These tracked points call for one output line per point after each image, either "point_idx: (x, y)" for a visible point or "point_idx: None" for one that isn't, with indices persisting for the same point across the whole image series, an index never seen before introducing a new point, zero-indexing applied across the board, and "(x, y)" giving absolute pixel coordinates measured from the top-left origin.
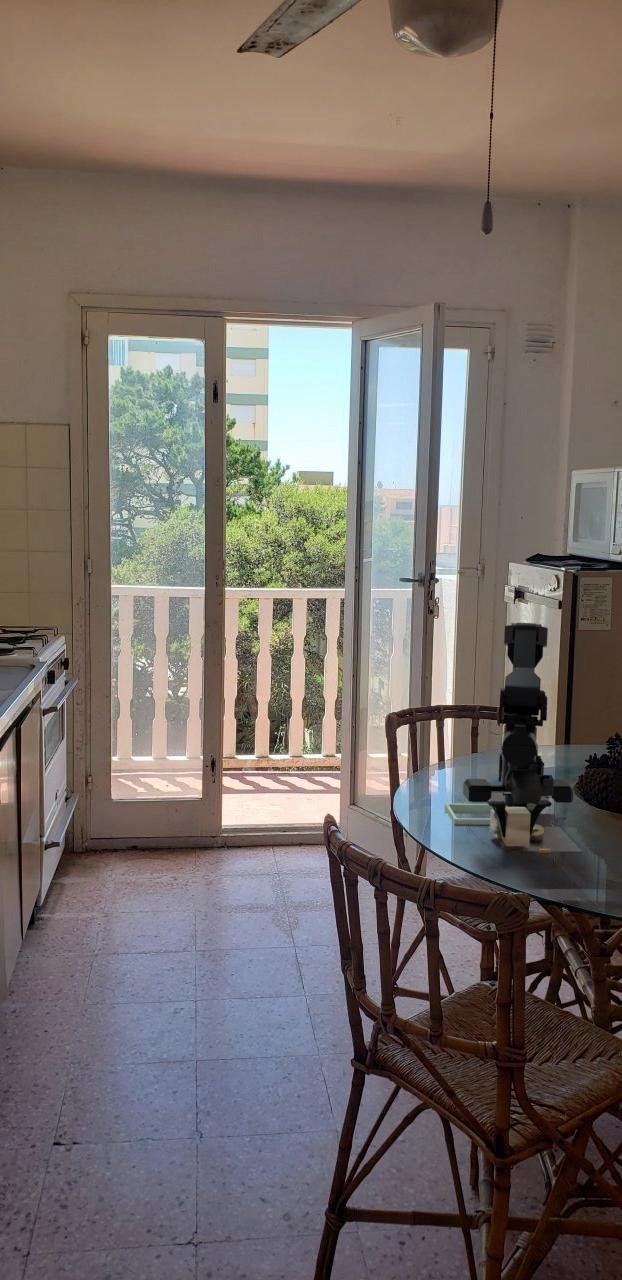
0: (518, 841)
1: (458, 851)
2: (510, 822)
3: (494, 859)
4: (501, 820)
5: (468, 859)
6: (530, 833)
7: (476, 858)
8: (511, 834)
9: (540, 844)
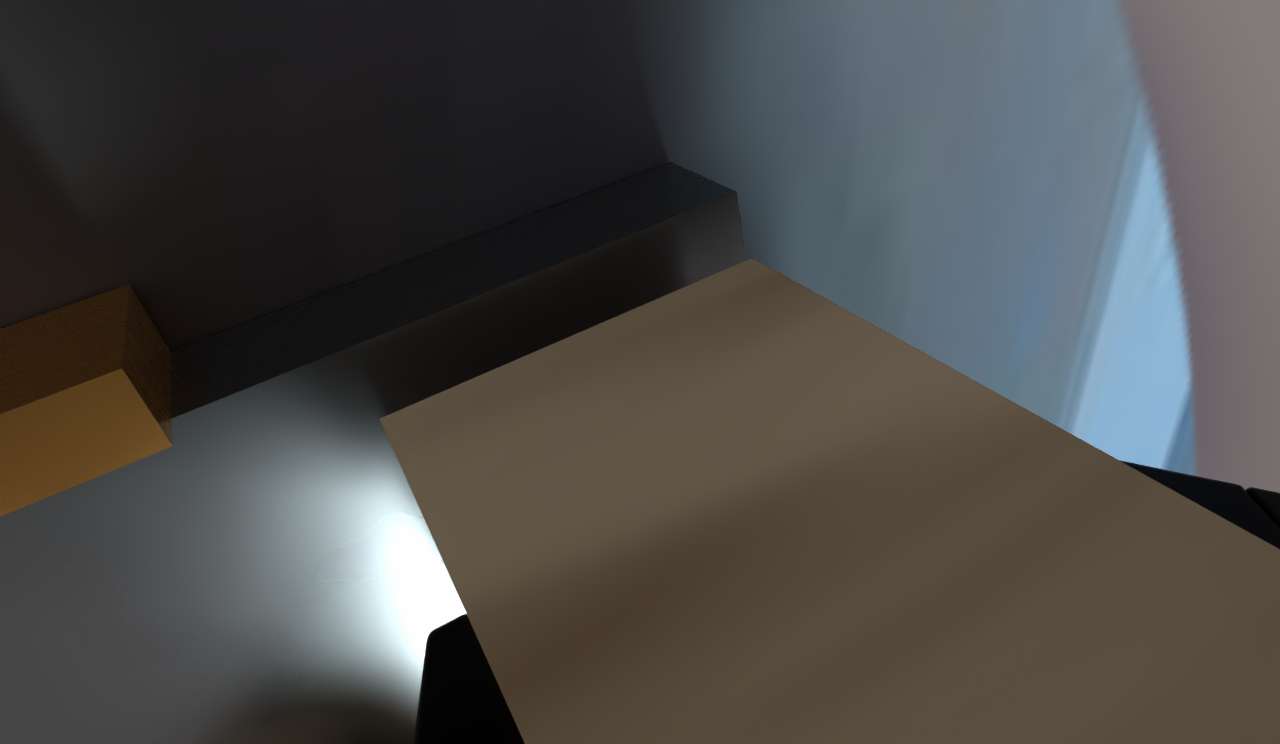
0: (611, 371)
1: (1073, 245)
2: (1089, 508)
3: (788, 114)
4: (1230, 516)
5: (1050, 12)
6: (426, 693)
7: (969, 80)
8: (823, 375)
9: (204, 740)
